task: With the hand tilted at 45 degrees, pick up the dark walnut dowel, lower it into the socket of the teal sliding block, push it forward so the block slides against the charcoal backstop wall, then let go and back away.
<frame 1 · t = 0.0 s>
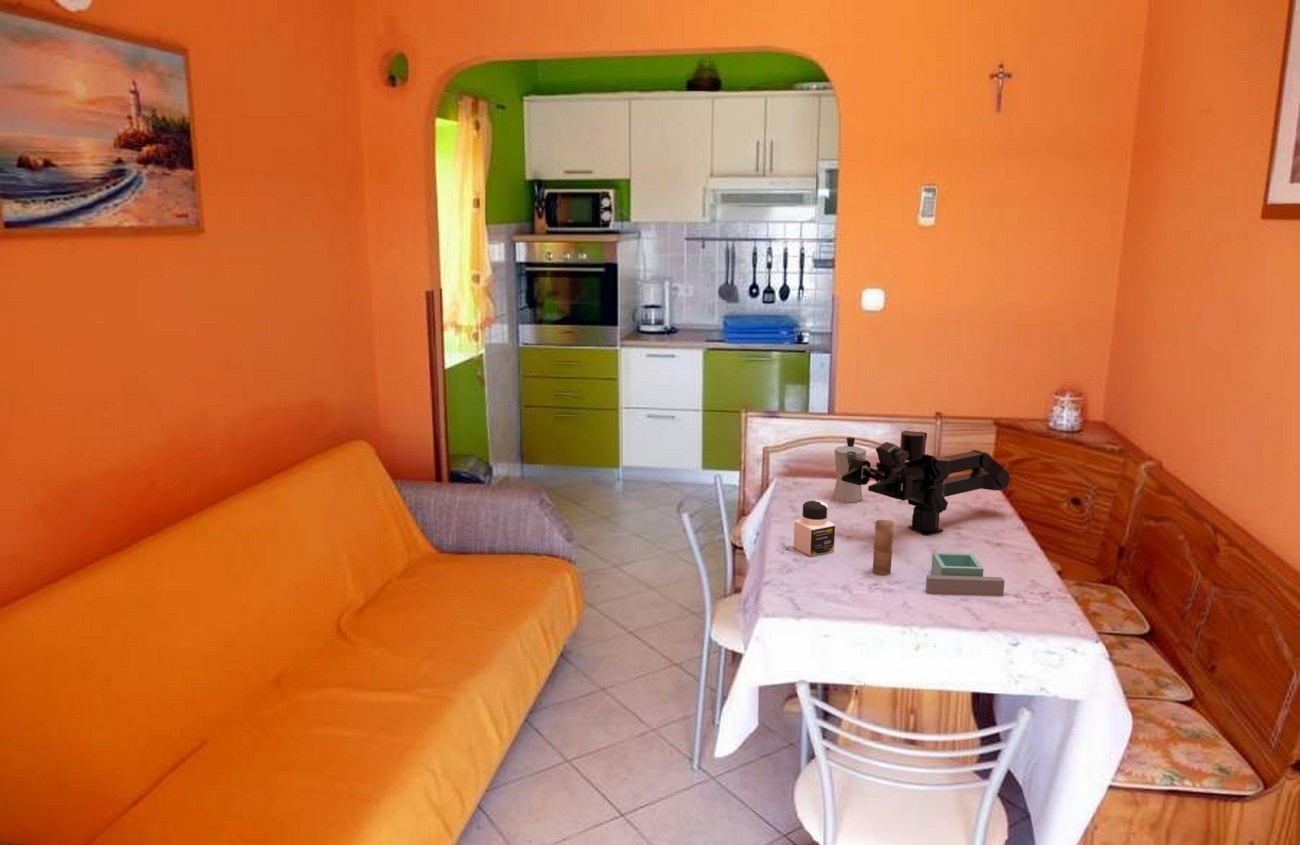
hand: (855, 483, 226), 17 cm above the table, tool horizontal, fingers open, 9 cm apart
medicine bottle: (813, 550, 229), on the table
coffee maker: (847, 500, 267), on the table
backstop wall: (964, 592, 204), on the table
dowel: (881, 572, 215), on the table
socket block: (956, 569, 211), point 2 cm above the table, slide at -1.5 cm
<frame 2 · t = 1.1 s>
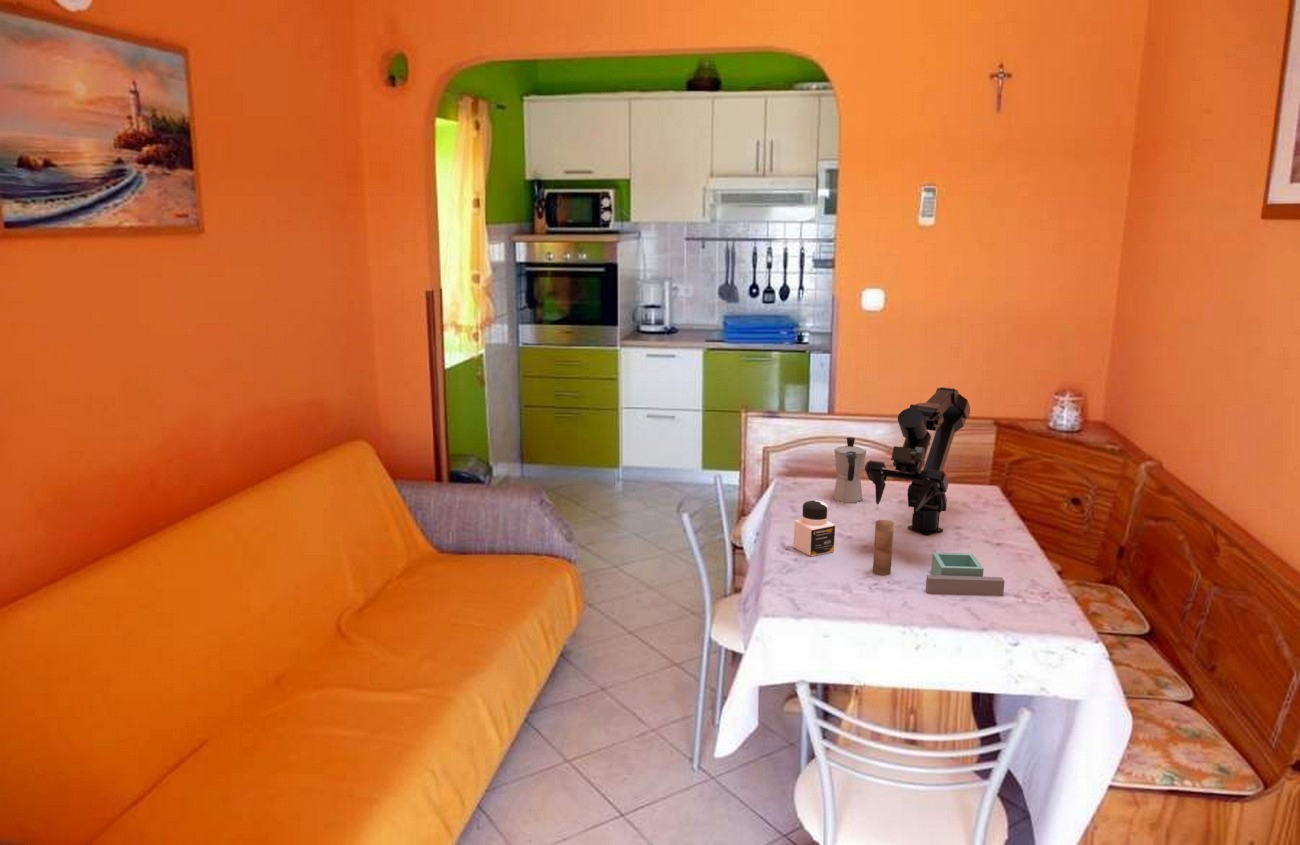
hand: (896, 506, 219), 14 cm above the table, tool tilted 45°, fingers open, 9 cm apart
nothing on the table moved.
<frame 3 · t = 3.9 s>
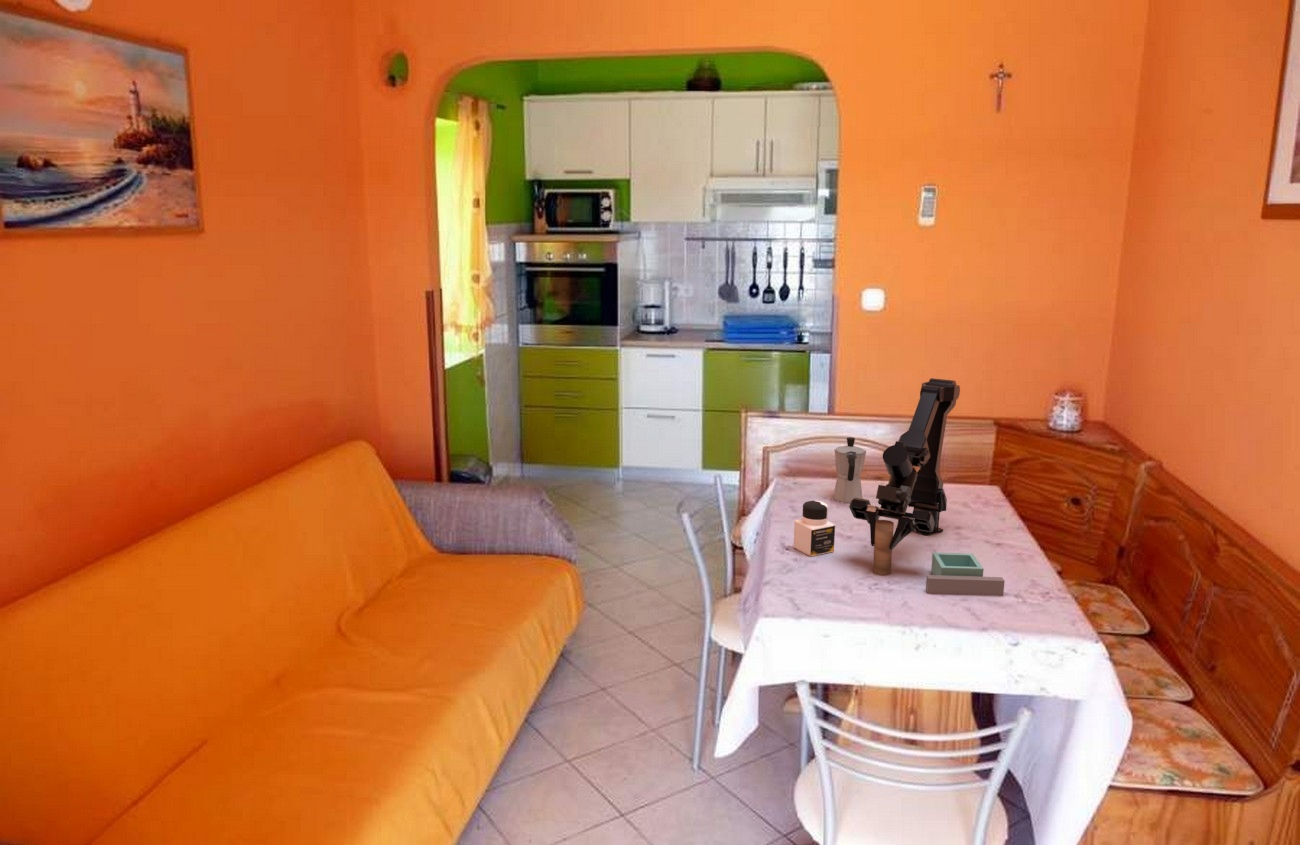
hand: (881, 547, 213), 7 cm above the table, tool tilted 45°, fingers closed on dowel, 4 cm apart
dowel: (881, 572, 215), on the table, touching gripper
everything else where it was.
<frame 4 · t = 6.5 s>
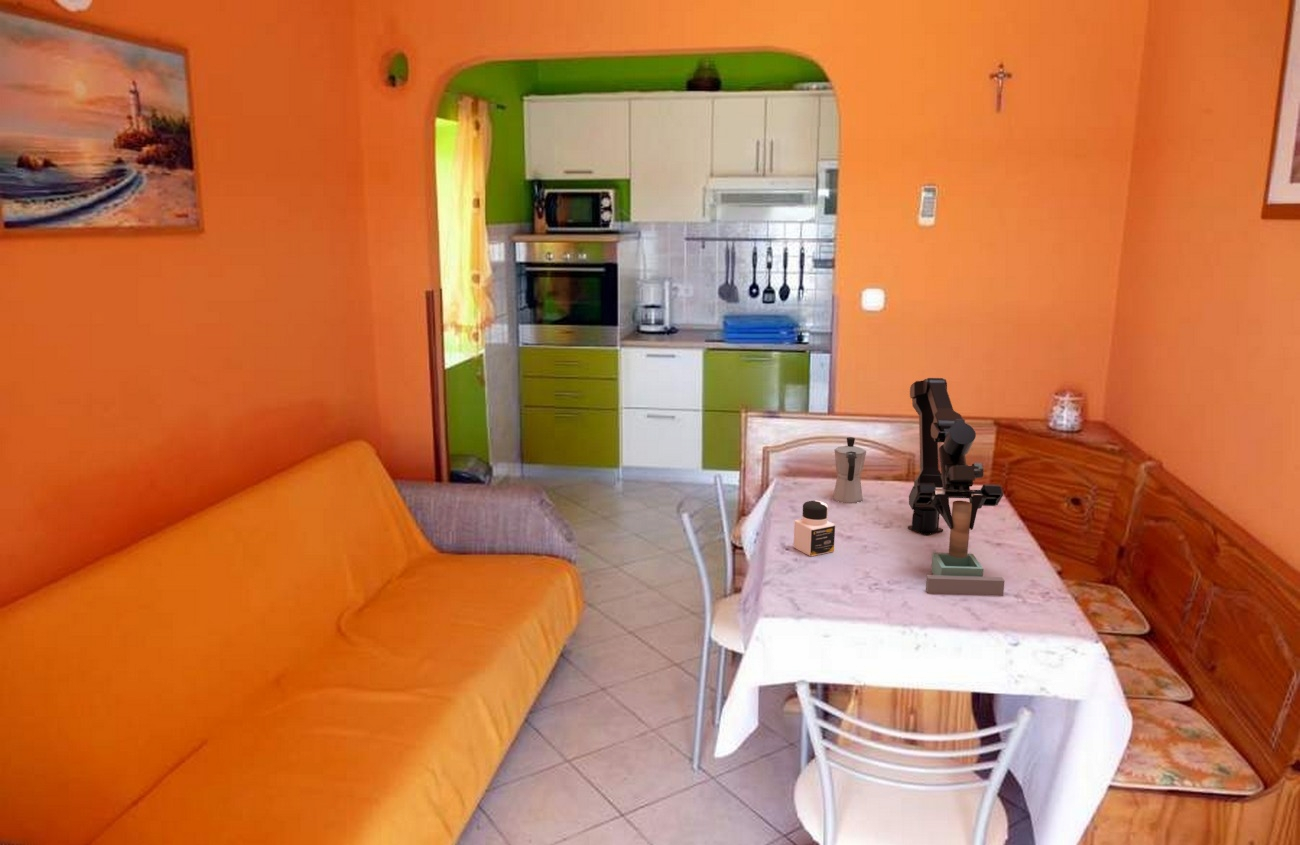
hand: (961, 528, 207), 13 cm above the table, tool tilted 45°, fingers closed on dowel, 4 cm apart
dowel: (957, 554, 210), point 6 cm above the table, touching gripper
everything else where it was.
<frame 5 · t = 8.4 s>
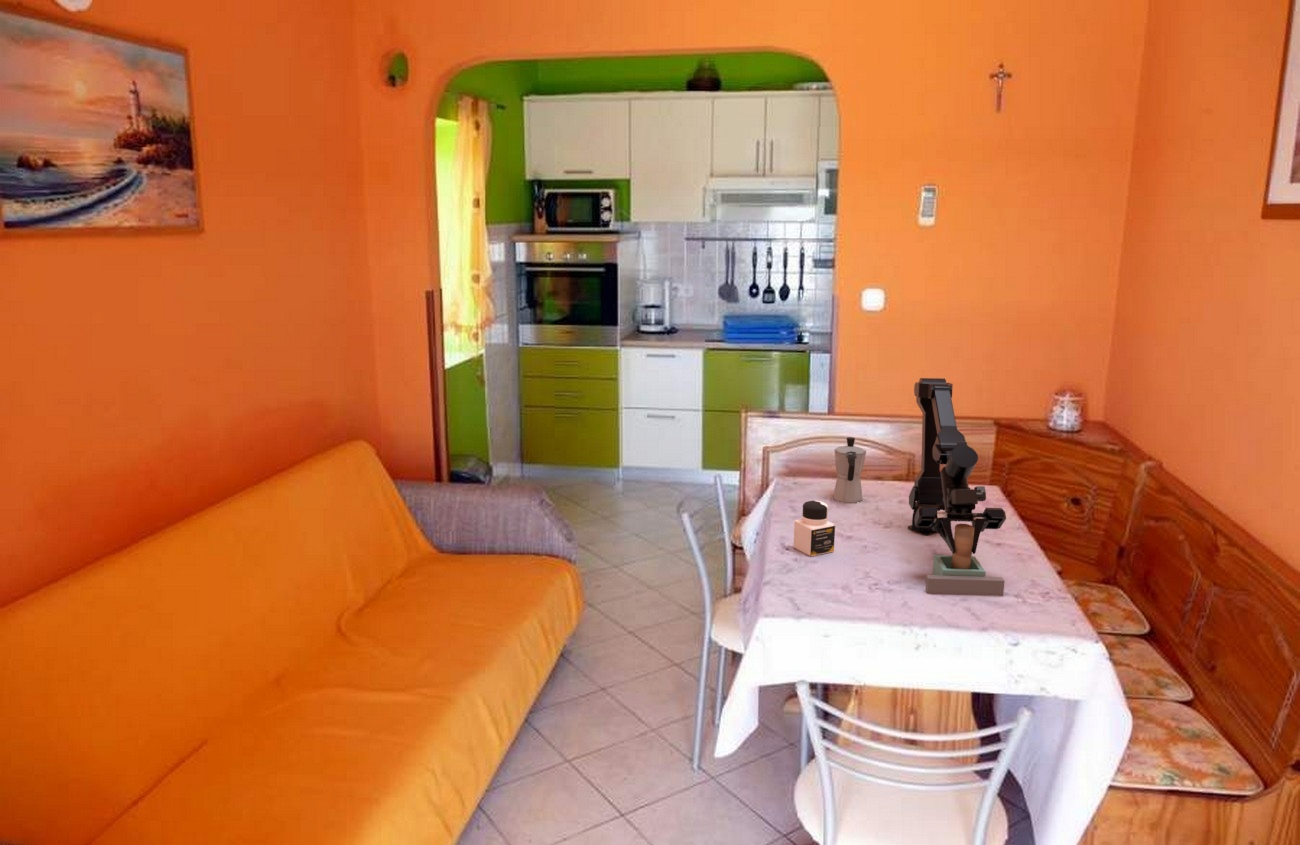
hand: (964, 552, 205), 8 cm above the table, tool tilted 45°, fingers closed on dowel, 4 cm apart
dowel: (959, 577, 208), point 2 cm above the table, touching gripper
socket block: (958, 572, 209), point 2 cm above the table, slide at 0.0 cm
everything else where it was.
when the fingers open (8 cm above the table, at t = 9.3 s): dowel stays where it is, resting on socket block.
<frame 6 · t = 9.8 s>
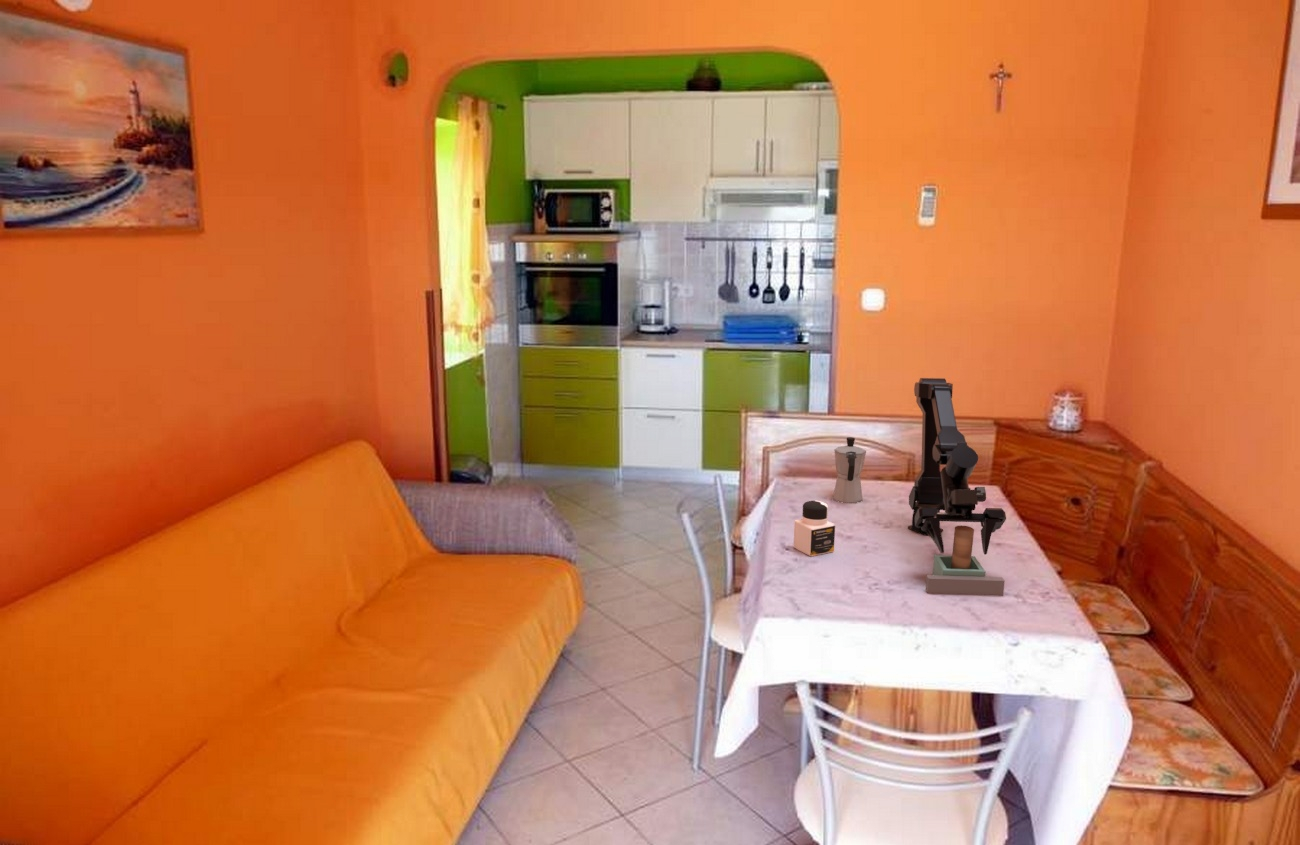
hand: (964, 553, 205), 8 cm above the table, tool tilted 45°, fingers open, 9 cm apart
dowel: (959, 579, 208), point 1 cm above the table, touching socket block
socket block: (958, 572, 209), point 2 cm above the table, slide at 0.0 cm, touching dowel
everything else where it was.
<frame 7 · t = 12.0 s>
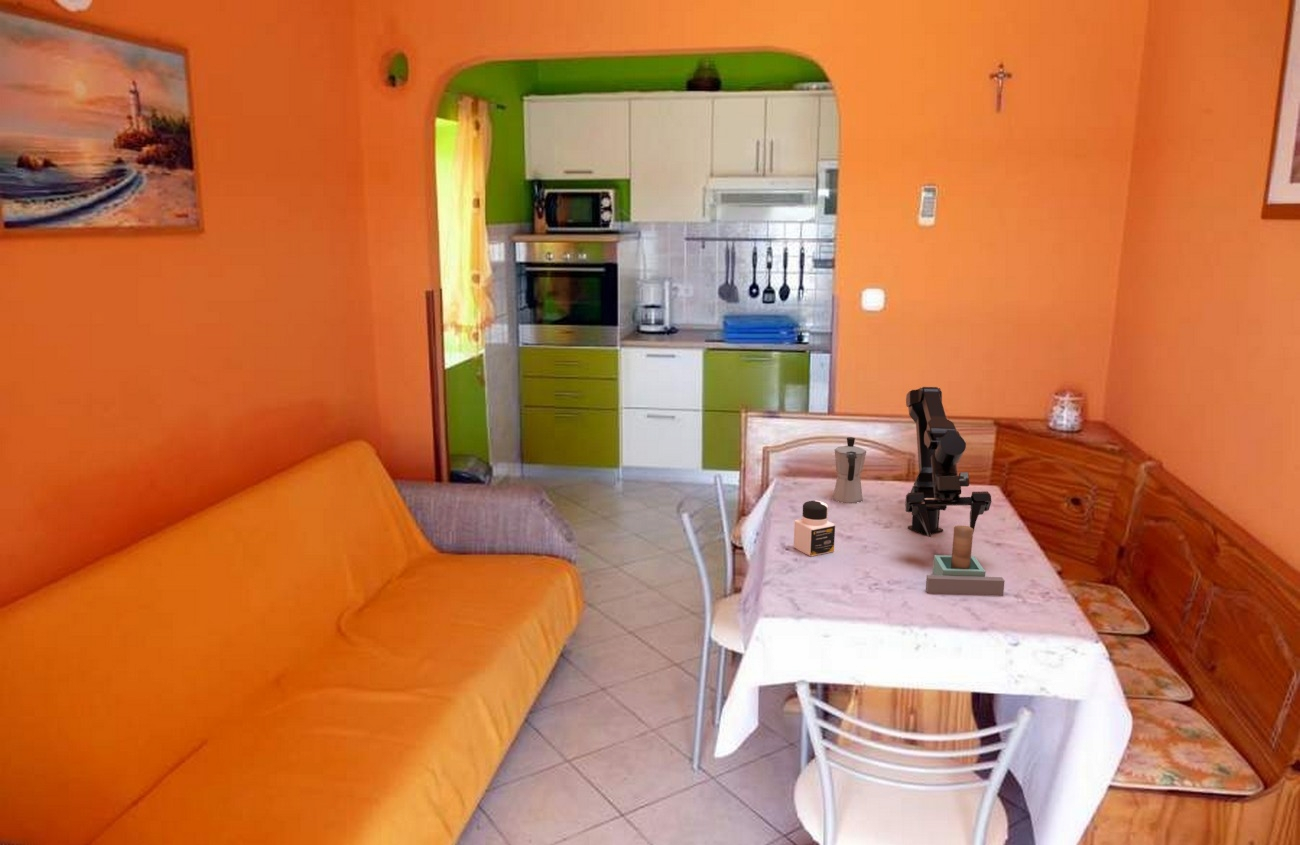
hand: (950, 536, 215), 8 cm above the table, tool tilted 40°, fingers open, 9 cm apart
nothing on the table moved.
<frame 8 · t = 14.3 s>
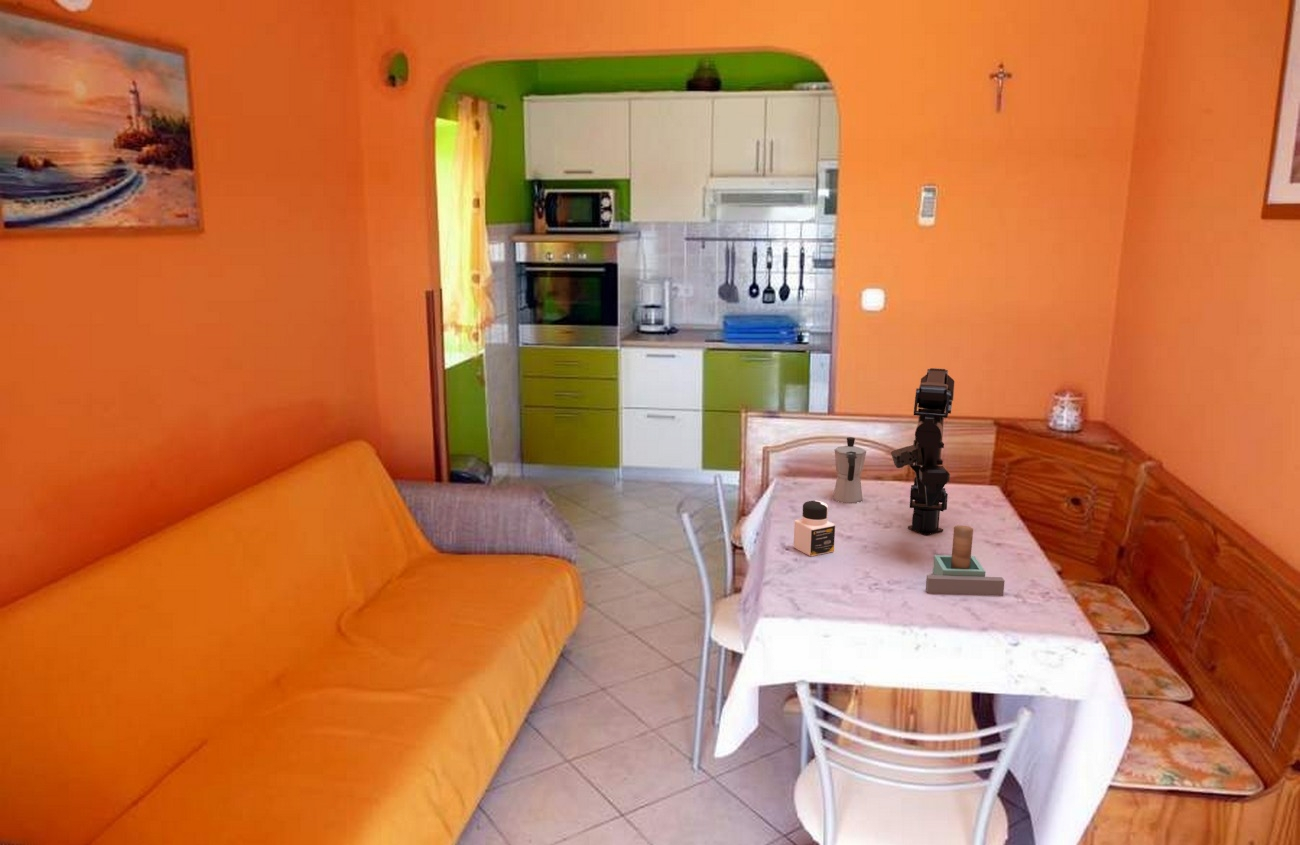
hand: (925, 500, 225), 13 cm above the table, tool pointing down, fingers open, 9 cm apart
nothing on the table moved.
at the end: dowel 1.1 cm off-centre on the socket block, point 1.0 cm above the socket block's base; socket block slide at 0.0 cm; dowel tilted 0° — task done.
